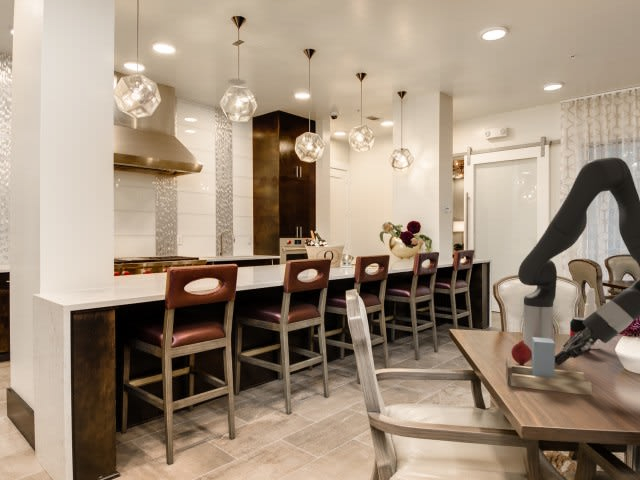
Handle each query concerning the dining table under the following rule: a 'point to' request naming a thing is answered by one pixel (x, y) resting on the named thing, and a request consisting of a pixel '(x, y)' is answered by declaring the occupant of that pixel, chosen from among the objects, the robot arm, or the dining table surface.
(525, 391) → the dining table surface
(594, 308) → the cosmetic bottle
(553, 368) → the block
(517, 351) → the pomegranate
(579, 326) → the beverage can
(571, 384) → the wooden tray frame
